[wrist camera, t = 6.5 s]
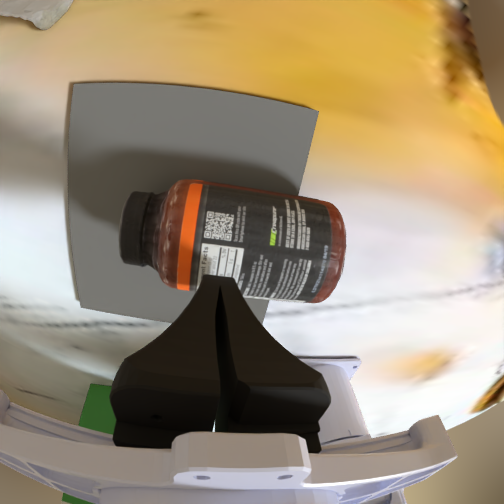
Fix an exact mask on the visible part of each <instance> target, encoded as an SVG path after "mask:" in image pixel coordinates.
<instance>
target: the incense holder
mask: <svg viewBox="0 0 504 504" xmlns="http://www.w3.org/2000/svg"><path fill="white" fill-rule="evenodd" d="M72 2H73V0H0V15H3V16H13V17H16V18H17V17H21V18H22V19H24V20H29V21H32V22H33V24H34V25H35V26H36V27H37V28H39V29H41V30H48V29H49V28H50V27H51V26H52V25H53V24H54V23H56V22H57V21H58V20H59V19H60V18H61V17H62V16H63V15H64V14H65V13H66V12H67V11H68V9H69V7H70V6H71V3H72Z"/></svg>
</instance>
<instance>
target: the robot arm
mask: <svg viewBox="0 0 504 504" xmlns="http://www.w3.org/2000/svg"><path fill="white" fill-rule="evenodd" d="M360 364H361V360H360V359H358V358H355V359H298V358H297V357H295V356H294V355H292V354H291V353H290V352H289V351H287V350H286V349H285V348H284V347H283V346H282V345H281V344H280V343H278V342H277V341H276V340H275V339H274V338H273V337H272V336H271V335H270V334H269V332H268V331H267V330H266V329H265V328H264V327H263V325H262V324H261V323H260V322H259V320H258V319H257V317H256V316H255V315H254V313H253V312H252V310H251V309H250V307H249V305H248V304H247V302H246V300H245V299H244V297H243V295H242V293H241V291H240V289H239V287H238V285H237V283H236V280H235V279H234V278H233V277H225V276H217V275H209V274H205V275H203V276H202V280H201V283H200V285H199V287H198V289H197V291H196V293H195V294H194V296H193V298H192V299H191V301H190V302H189V304H188V305H187V306H186V308H185V309H184V310H183V312H182V313H181V314H180V315H179V317H178V318H177V319H176V320H175V321H174V322H173V323H172V324H171V325H170V326H169V327H168V328H167V329H166V330H165V331H164V332H163V333H162V334H161V335H160V336H158V337H157V338H156V339H154V340H153V341H152V342H150V343H149V344H148V345H146V346H145V347H144V348H142V349H141V350H139V351H137V352H136V353H134V354H132V355H130V356H129V357H127V358H125V359H124V361H123V363H122V364H121V366H120V368H119V370H118V372H117V374H116V376H115V378H114V381H113V384H112V387H111V391H110V395H109V399H110V404H111V407H112V410H113V412H114V415H115V418H116V423H115V428H114V433H113V435H111V434H107V433H103V432H99V431H95V430H91V429H87V428H83V427H80V426H76V425H73V424H70V423H66V422H63V421H60V420H57V419H54V418H51V417H48V416H45V415H43V414H40V413H37V412H34V411H32V410H29V409H27V408H24V407H22V406H19V405H17V404H15V403H12V402H10V400H9V398H8V396H7V395H6V394H5V392H4V391H2V390H1V389H0V462H1V463H3V464H4V465H6V466H8V467H10V468H12V469H14V470H16V471H18V472H20V473H22V474H24V475H26V476H28V477H30V478H32V479H34V480H36V481H38V482H40V483H42V484H45V485H47V486H49V487H52V488H54V489H56V490H59V491H61V492H64V493H66V494H69V495H71V496H74V497H77V498H79V499H82V500H85V501H88V502H91V503H94V504H407V503H406V500H405V497H404V493H403V491H404V488H405V487H408V486H411V485H413V484H415V483H418V482H421V481H423V480H425V479H426V478H428V477H430V476H431V475H433V474H434V473H436V472H437V471H439V470H440V469H442V468H443V467H444V466H446V465H447V464H449V463H450V462H451V461H453V460H454V459H455V458H457V453H456V451H455V449H454V447H453V445H452V442H451V440H450V438H449V436H448V434H447V432H446V430H445V427H444V425H443V423H442V421H441V419H440V417H439V415H435V416H432V417H428V418H425V419H421V420H419V421H417V422H416V423H415V424H413V425H412V426H411V427H410V428H409V430H407V431H403V432H399V433H395V434H390V435H386V436H381V437H376V438H371V436H370V434H369V432H368V429H367V426H366V424H365V421H364V418H363V415H362V412H361V410H360V407H359V404H358V401H357V399H356V396H355V393H354V391H353V388H352V385H351V383H350V380H351V378H352V377H353V375H354V374H355V372H356V370H357V369H358V367H359V366H360ZM214 422H215V432H212V431H213V426H214Z"/></svg>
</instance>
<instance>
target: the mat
mask: <svg viewBox="0 0 504 504" xmlns="http://www.w3.org/2000/svg"><path fill="white" fill-rule="evenodd" d="M318 113H319V111H316V110H313V109H309V108H305V107H301V106H297V105H293V104H288V103H284V102H280V101H275V100H270V99H265V98H260V97H255V96H250V95H244V94H238V93H232V92H226V91H219V90H212V89H204V88H195V87H186V86H175V85H162V84H144V83H82V84H74V87H73V94H72V103H71V113H70V125H69V142H68V204H69V221H70V234H71V244H72V253H73V262H74V269H75V276H76V283H77V289H78V295H79V300H80V305H81V308H86V309H91V310H96V311H102V312H107V313H113V314H118V315H124V316H130V317H136V318H142V319H149V320H156V321H163V322H170V323H173V322H174V321H175V320H176V319H177V318H178V317H179V315H180V314H181V313H182V312H183V310H184V309H185V308H186V306H187V305H188V304H189V302H190V301H191V299H192V298H193V296H194V294H195V293H196V292H194V291H187V290H179V289H175V288H171V287H168V286H167V285H165V284H164V283H163V282H162V280H161V278H160V276H159V273H158V272H157V271H156V270H155V269H153V268H152V267H150V266H149V265H147V266H145V267H140V266H135V265H129V264H124V263H123V262H122V260H121V257H120V254H119V239H118V238H119V225H120V219H121V214H122V210H123V206H124V204H125V201H126V200H127V197H128V196H129V195H130V193H132V192H134V191H139V192H153V193H154V194H160V193H162V192H165V191H167V190H169V189H170V188H171V187H172V186H173V185H174V184H175V183H176V182H178V181H180V180H184V179H193V180H201V181H211V182H217V183H225V184H231V185H237V186H244V187H250V188H257V189H263V190H269V191H275V192H280V193H286V194H291V195H297V196H298V194H299V190H300V186H301V182H302V178H303V174H304V170H305V166H306V162H307V158H308V154H309V150H310V146H311V142H312V138H313V134H314V130H315V126H316V121H317V117H318ZM244 299H245V300H246V302H247V304H248V305H249V307H250V309H251V310H252V312H253V313H254V315H255V316H256V317H257V319H258V320H259V322H260V323H261V324H262V323H263V320H264V317H265V313H266V310H267V306H268V303H269V300H266V299H256V298H246V297H244Z"/></svg>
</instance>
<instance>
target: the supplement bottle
mask: <svg viewBox="0 0 504 504" xmlns="http://www.w3.org/2000/svg"><path fill="white" fill-rule="evenodd" d="M118 239H119V254H120V257H121V260H122V262H123V263H124V264H129V265H135V266H140V267H145V266H147V265H149V266H150V267H152V268H153V269H155V270H156V271H157V272H158V273H159V276H160V278H161V280H162V282H163V283H164V284H165V285H167V286H168V287H171V288H175V289H179V290H187V291H194V292H196V291H197V289H198V287H199V285H200V283H201V280H202V276H203V275H205V274H209V275H217V276H225V277H233V278H234V279H235V280H236V283H237V285H238V287H239V289H240V291H241V293H242V295H243V297H246V298H256V299H266V300H276V301H288V302H300V303H319V302H322V301H324V300H325V299H327V298H328V297H329V296H330V294H331V293H332V292H333V290H334V289H335V287H336V285H337V283H338V281H339V279H340V277H341V274H342V272H343V267H344V260H345V252H346V251H345V250H346V231H345V225H344V222H343V218H342V215H341V214H340V212H339V210H338V209H337V208H336V207H335V206H334V205H333V204H331V203H329V202H326V201H321V200H318V199H313V198H307V197H303V196H297V195H291V194H286V193H280V192H275V191H269V190H263V189H257V188H250V187H244V186H237V185H231V184H225V183H217V182H211V181H201V180H193V179H184V180H180V181H178V182H176V183H175V184H174V185H173V186H172V187H171V188H170V189H169V190H167V191H165V192H162V193H160V194H154V193H153V192H139V191H134V192H132V193H130V195H129V196H128V197H127V200H126V201H125V204H124V206H123V210H122V214H121V219H120V225H119V238H118Z"/></svg>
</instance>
